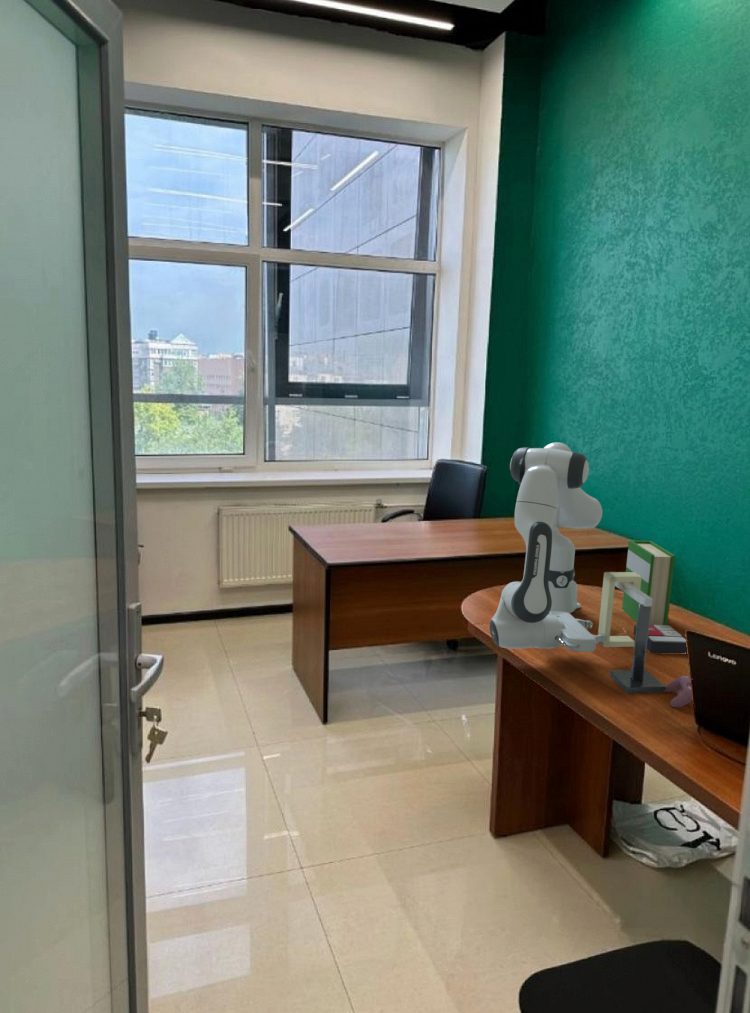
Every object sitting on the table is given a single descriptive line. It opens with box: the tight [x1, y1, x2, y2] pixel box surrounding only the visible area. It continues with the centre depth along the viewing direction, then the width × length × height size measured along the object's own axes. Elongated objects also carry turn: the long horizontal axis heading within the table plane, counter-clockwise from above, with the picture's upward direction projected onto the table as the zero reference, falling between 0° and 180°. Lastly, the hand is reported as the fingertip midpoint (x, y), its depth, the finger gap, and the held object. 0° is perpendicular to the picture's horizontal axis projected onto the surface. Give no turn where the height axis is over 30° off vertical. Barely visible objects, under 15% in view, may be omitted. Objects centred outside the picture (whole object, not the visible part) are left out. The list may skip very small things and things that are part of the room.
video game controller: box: [664, 674, 693, 708], centre depth 171 cm, size 10×5×7 cm, turn 166°
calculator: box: [633, 623, 688, 655], centre depth 207 cm, size 11×4×15 cm
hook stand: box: [609, 582, 666, 694], centre depth 186 cm, size 26×10×24 cm, turn 6°
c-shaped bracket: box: [597, 571, 642, 648], centre depth 191 cm, size 4×9×20 cm, turn 96°
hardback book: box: [621, 540, 676, 626], centre depth 224 cm, size 18×7×24 cm, turn 2°
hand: (598, 630), depth 192 cm, fingers open, 8 cm apart
